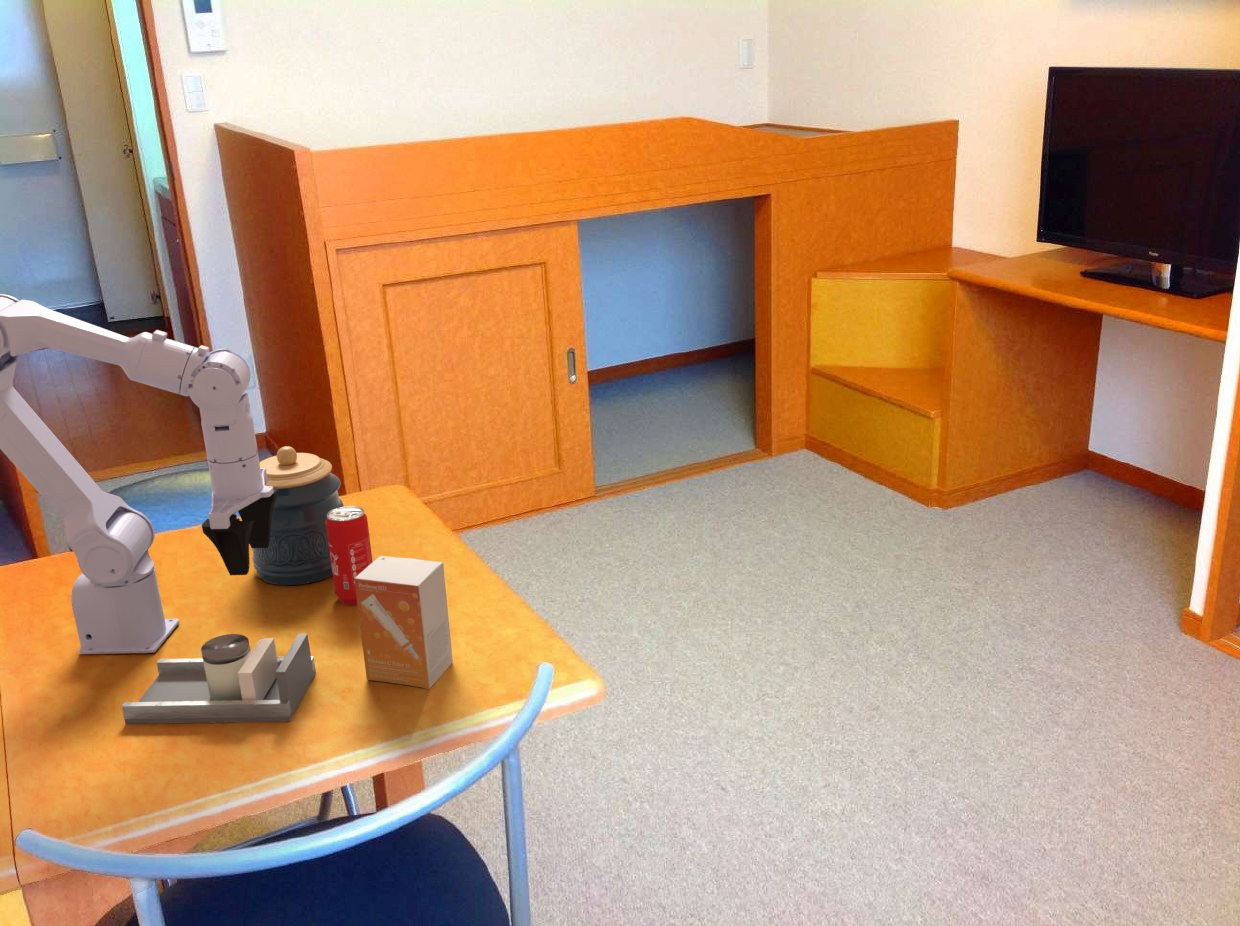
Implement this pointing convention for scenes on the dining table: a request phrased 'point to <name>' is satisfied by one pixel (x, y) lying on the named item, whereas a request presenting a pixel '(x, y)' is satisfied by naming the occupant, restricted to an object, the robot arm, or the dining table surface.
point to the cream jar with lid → (225, 665)
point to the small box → (404, 621)
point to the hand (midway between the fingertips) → (250, 560)
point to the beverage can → (348, 549)
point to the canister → (298, 519)
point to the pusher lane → (188, 701)
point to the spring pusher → (259, 670)
